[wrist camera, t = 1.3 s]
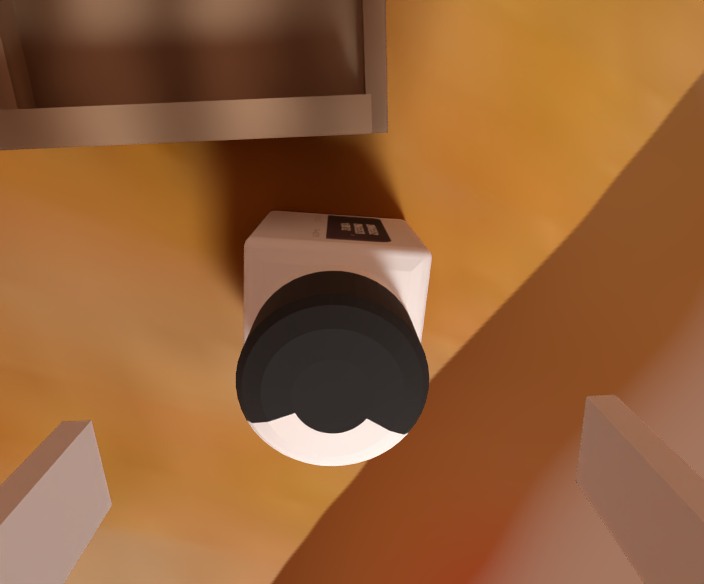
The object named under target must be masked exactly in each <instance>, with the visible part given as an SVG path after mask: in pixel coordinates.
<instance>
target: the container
mask: <svg viewBox="0 0 704 584" xmlns="http://www.w3.org/2000/svg"><path fill="white" fill-rule="evenodd" d="M431 260H432V256H431V252H430V251H429V250H428V249H427V247H426V246H425V245H424V243H423V242H422V241H421V240H420V238H419V237H418V236H417V235H416V233H415V232H414V231H413V230H412V228H411V227H410V226H409V225H408V223H407V222H406V221H405V220H402V219H390V218H376V217H361V216H346V215H332V214H317V213H303V212H288V211H271V212H269V213H268V214H267V216H266V217H265V218H264V219H263V220H262V222H261V223H260V224H259V225H258V227H257V228H256V229H255V230H254V231H253V233H252V234H251V235H250V236H249V237H248V239H247V240H246V241H245V244H244V346H243V348H242V351H241V354H240V357H239V360H238V364H237V371H236V390H237V396H238V400H239V403H240V406H241V410H242V412H243V414H244V416H245V418H246V420H247V421H248V423H249V424H250V426H251V427H252V428H253V430H254V431H255V432H256V433H257V434H258V435H259V436H260V438H261V439H262V440H264V441H265V442H266V443H267V444H268V445H270V446H271V447H272V448H274V449H275V450H277V451H279V452H280V453H282V454H284V455H286V456H288V457H290V458H293V459H295V460H299V461H302V462H305V463H310V464H315V465H323V466H343V465H349V464H355V463H359V462H362V461H366V460H369V459H371V458H373V457H376V456H378V455H380V454H382V453H384V452H385V451H387V450H389V449H390V448H392V447H393V446H394V445H396V444H397V443H398V442H400V441H401V440H402V439H403V438H404V436H406V435H407V434H408V432H409V431H410V430H411V429H412V427H413V426H414V425H415V424H416V422H417V420H418V418H419V417H420V415H421V413H422V410H423V408H424V405H425V403H426V399H427V394H428V389H429V371H428V364H427V360H426V356H425V353H424V350H423V348H422V345H421V339H422V331H423V323H424V315H425V307H426V299H427V292H428V284H429V276H430V268H431Z"/></svg>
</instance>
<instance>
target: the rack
mask: <svg viewBox="0 0 704 584" xmlns="http://www.w3.org/2000/svg"><path fill="white" fill-rule="evenodd" d="M387 132H388V110H387V55H386V0H0V150H15V149H38V148H60V147H83V146H105V145H127V144H150V143H172V142H195V141H217V140H239V139H262V138H284V137H307V136H329V135H351V134H372V133H387Z"/></svg>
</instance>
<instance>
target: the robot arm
mask: <svg viewBox="0 0 704 584" xmlns="http://www.w3.org/2000/svg"><path fill="white" fill-rule="evenodd" d="M576 483H577V484H578V486H579V487H580V489H581V490H582V492H583V493H584V495H585V496H586V497H587V499H588V501H589V502H590V504H591V505H592V506H593V508H594V510H595V511H596V513H597V514H598V515H599V517H600V519H601V520H602V521H603V523H604V524H605V526H606V527H607V529H608V530H609V532H610V533H611V535H612V536H613V538H614V539H615V541H616V542H617V544H618V545H619V547H620V548H621V550H622V551H623V553H624V554H625V556H626V557H627V559H628V560H629V562H630V563H631V565H632V566H633V568H634V569H635V571H636V572H637V574H638V575H639V576H640V578H641V579H642V581H643V582H644V584H704V479H703V478H702V477H701V476H699V475H698V474H697V473H696V472H695V471H694V470H693V469H692V468H691V467H690V466H689V465H688V464H687V463H686V462H685V461H684V460H683V459H682V458H681V457H680V456H679V455H678V454H676V453H675V452H674V451H673V450H672V449H671V448H670V447H669V446H668V445H667V444H666V443H665V442H664V441H663V440H662V439H661V438H660V437H659V436H658V435H657V434H656V433H654V432H653V431H652V430H651V429H650V428H649V427H648V426H647V425H646V424H645V423H644V422H643V421H642V420H641V419H640V418H639V417H638V416H637V415H636V414H635V413H634V412H633V411H632V410H630V409H629V408H628V407H627V406H626V405H625V404H624V403H623V402H622V401H621V400H620V399H619V398H618V397H617V396H616V395H603V396H587V397H586V405H585V413H584V421H583V429H582V438H581V445H580V454H579V462H578V470H577V479H576ZM111 506H112V504H111V499H110V495H109V491H108V487H107V483H106V479H105V475H104V470H103V466H102V462H101V458H100V454H99V450H98V446H97V441H96V437H95V433H94V429H93V425H92V421H91V420H88V421H67V422H62V423H61V424H60V425H59V426H58V427H57V428H56V429H55V430H54V431H53V432H52V433H51V434H50V435H49V436H48V437H47V438H46V439H45V440H44V441H43V442H42V443H41V444H40V445H39V446H38V447H37V448H36V450H35V451H34V452H33V453H32V454H31V455H30V456H29V457H28V458H27V459H26V460H25V461H24V462H23V463H22V464H21V465H20V466H19V467H18V468H17V469H16V470H15V471H14V472H13V473H12V474H11V475H10V476H9V477H8V479H7V480H6V481H5V482H4V483H3V484H2V485H1V486H0V584H64V582H65V581H66V579H67V577H68V576H69V574H70V572H71V571H72V569H73V568H74V566H75V564H76V563H77V561H78V559H79V558H80V556H81V555H82V553H83V551H84V550H85V548H86V546H87V545H88V543H89V542H90V540H91V538H92V537H93V535H94V533H95V532H96V530H97V529H98V527H99V525H100V524H101V522H102V520H103V519H104V517H105V516H106V514H107V512H108V511H109V509H110V507H111Z"/></svg>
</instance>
